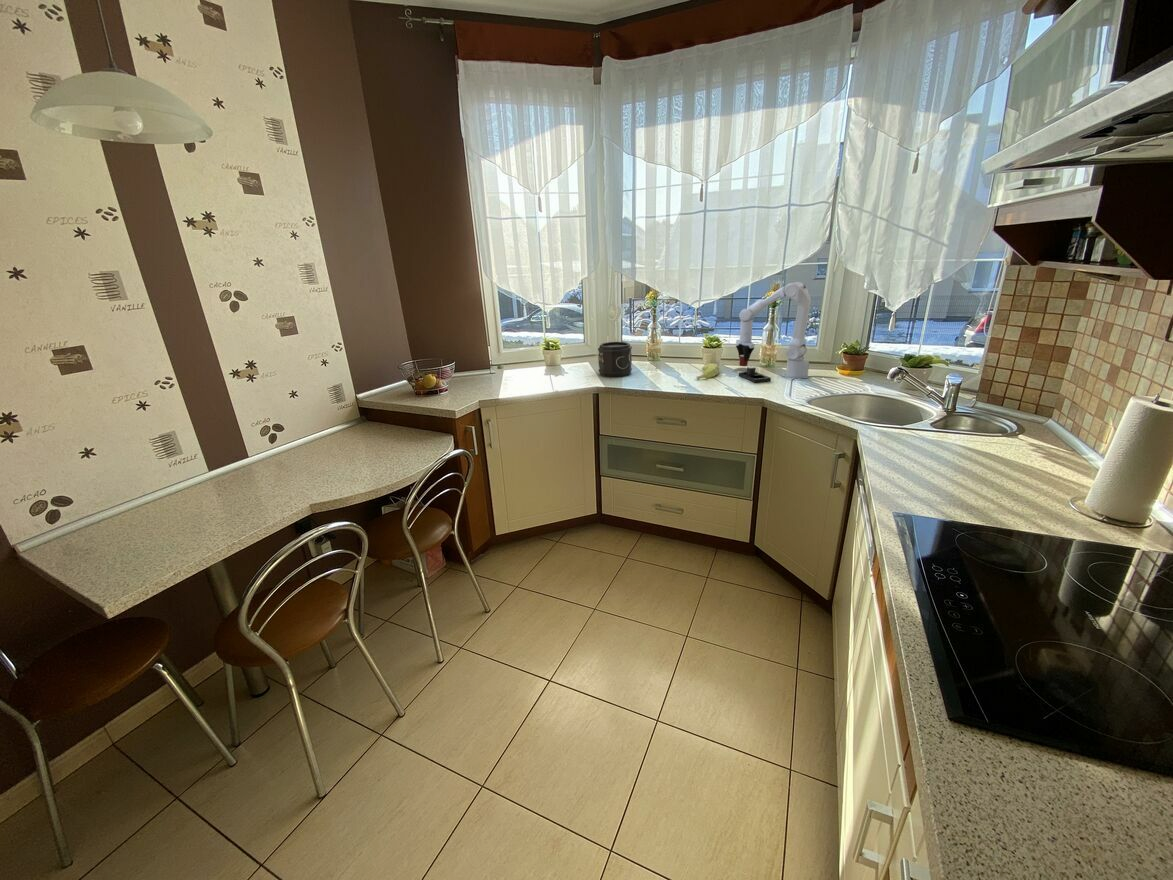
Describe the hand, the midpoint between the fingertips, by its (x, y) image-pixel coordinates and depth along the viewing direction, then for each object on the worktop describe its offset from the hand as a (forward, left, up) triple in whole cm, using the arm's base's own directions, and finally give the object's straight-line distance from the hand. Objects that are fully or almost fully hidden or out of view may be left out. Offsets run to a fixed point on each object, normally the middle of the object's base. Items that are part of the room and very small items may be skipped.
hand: (743, 359), depth 245 cm
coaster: (0, 0, -6) cm, 6 cm away
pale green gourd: (+22, +2, -6) cm, 23 cm away
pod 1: (0, 0, -3) cm, 3 cm away
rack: (+4, +19, -6) cm, 20 cm away
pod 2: (+4, +15, -5) cm, 17 cm away
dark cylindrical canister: (+63, -20, -6) cm, 66 cm away
